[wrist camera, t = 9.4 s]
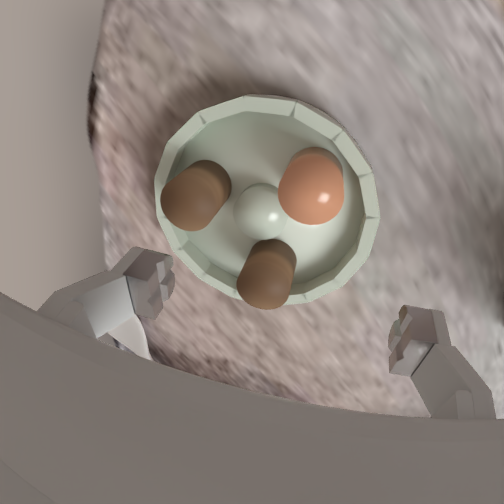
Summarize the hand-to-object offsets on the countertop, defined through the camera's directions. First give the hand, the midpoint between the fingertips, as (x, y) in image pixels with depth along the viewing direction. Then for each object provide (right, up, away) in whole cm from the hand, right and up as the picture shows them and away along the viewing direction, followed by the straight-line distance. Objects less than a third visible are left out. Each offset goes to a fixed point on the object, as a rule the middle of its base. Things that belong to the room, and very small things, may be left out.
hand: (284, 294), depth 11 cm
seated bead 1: (-5, +7, +14) cm, 16 cm away
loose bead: (+3, +7, +11) cm, 14 cm away
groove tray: (0, +5, +14) cm, 15 cm away
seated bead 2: (+1, +1, +16) cm, 16 cm away
